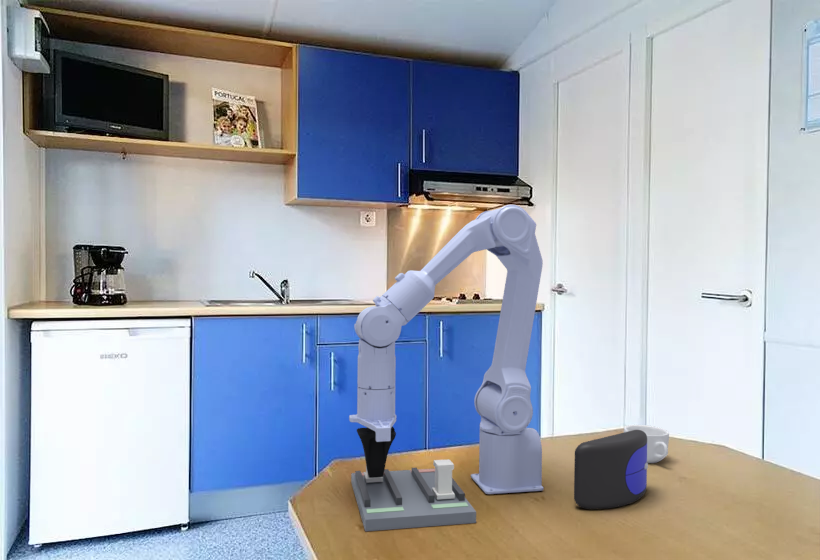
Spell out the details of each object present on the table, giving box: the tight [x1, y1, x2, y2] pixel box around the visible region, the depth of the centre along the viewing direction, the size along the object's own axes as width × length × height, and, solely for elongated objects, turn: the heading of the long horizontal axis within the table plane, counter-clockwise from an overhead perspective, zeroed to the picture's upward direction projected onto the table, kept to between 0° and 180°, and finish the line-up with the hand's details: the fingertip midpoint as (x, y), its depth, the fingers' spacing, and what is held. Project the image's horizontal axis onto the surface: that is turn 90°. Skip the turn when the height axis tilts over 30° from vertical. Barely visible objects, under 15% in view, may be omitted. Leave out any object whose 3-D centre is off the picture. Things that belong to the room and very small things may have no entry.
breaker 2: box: [432, 459, 455, 500], centre depth 83 cm, size 3×3×5 cm
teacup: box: [623, 424, 670, 464], centre depth 105 cm, size 10×8×5 cm
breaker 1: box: [363, 466, 383, 483], centre depth 89 cm, size 3×3×5 cm
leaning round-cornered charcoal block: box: [573, 430, 649, 510], centre depth 86 cm, size 16×5×9 cm, turn 125°
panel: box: [350, 467, 477, 532], centre depth 85 cm, size 15×18×2 cm
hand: (375, 476), depth 87 cm, fingers closed
